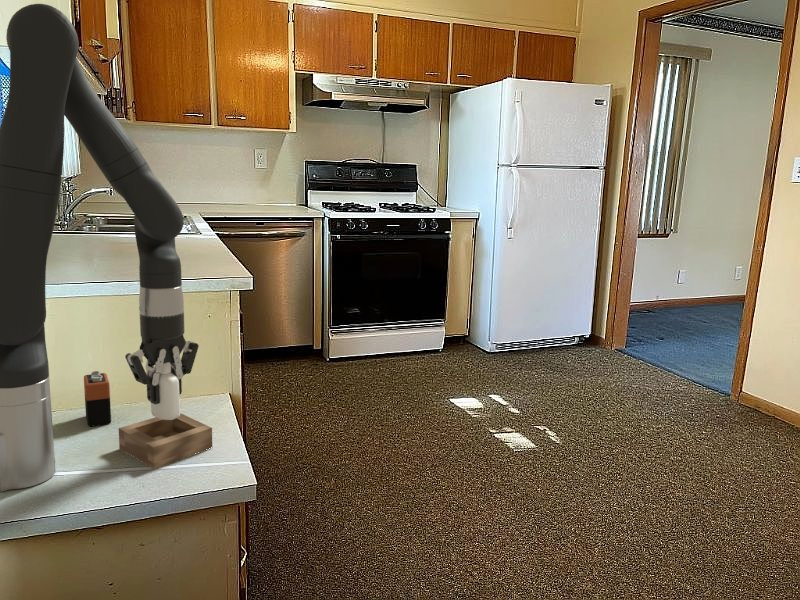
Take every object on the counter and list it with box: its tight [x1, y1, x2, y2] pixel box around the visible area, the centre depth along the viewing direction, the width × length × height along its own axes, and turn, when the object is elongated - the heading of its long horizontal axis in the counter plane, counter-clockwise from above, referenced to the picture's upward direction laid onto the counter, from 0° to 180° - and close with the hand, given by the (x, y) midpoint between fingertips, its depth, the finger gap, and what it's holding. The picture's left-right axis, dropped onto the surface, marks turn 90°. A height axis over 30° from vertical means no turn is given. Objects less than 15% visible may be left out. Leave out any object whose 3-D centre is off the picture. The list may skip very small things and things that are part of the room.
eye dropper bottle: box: [150, 362, 181, 420], centre depth 115 cm, size 4×6×12 cm
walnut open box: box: [118, 412, 213, 470], centre depth 117 cm, size 12×12×4 cm
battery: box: [83, 370, 112, 427], centre depth 128 cm, size 4×7×10 cm, turn 30°
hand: (165, 399), depth 115 cm, fingers closed on eye dropper bottle, 3 cm apart
